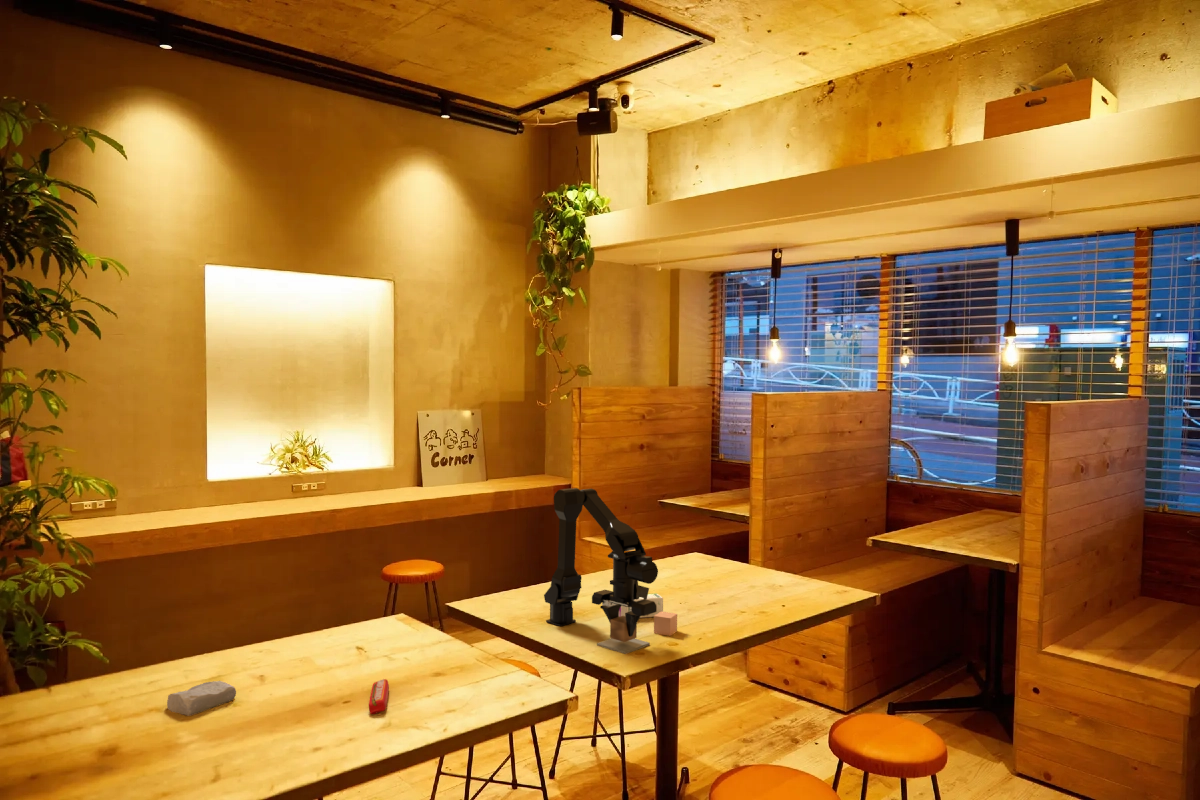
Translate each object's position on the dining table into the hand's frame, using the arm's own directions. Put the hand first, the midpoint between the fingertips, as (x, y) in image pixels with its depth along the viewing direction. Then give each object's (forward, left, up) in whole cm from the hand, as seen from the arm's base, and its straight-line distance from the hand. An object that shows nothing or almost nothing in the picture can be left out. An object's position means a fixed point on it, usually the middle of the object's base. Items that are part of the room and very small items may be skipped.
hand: (623, 634), depth 220 cm
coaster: (0, 0, -3) cm, 3 cm away
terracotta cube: (+1, +17, -3) cm, 17 cm away
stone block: (-42, -94, -4) cm, 103 cm away
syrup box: (-11, +30, 0) cm, 32 cm away
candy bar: (-14, -66, -4) cm, 68 cm away
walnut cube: (0, 0, -1) cm, 1 cm away
